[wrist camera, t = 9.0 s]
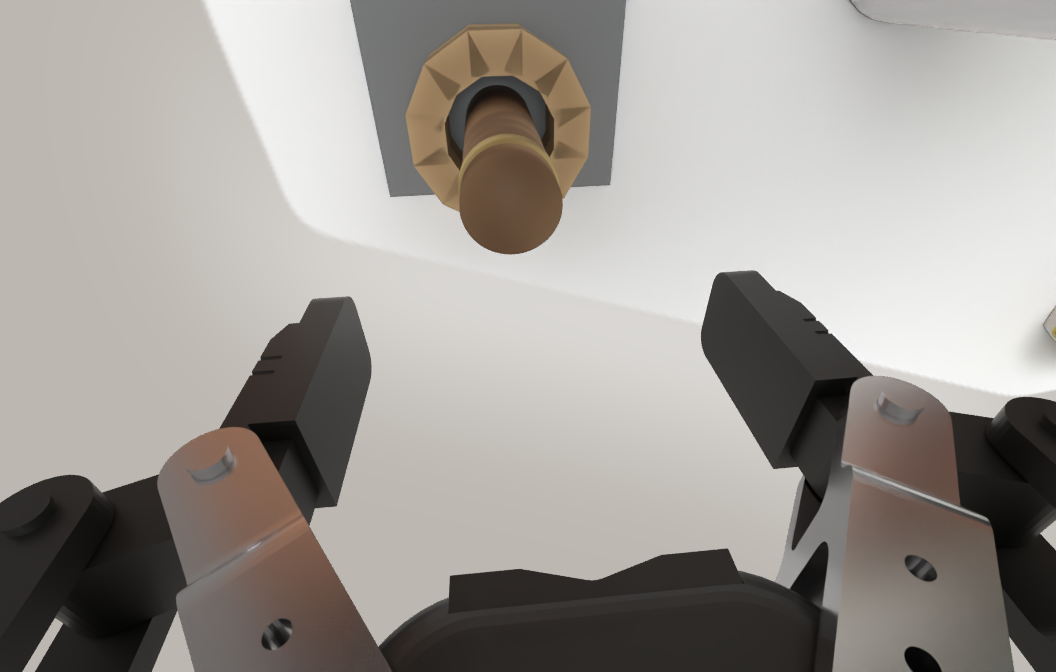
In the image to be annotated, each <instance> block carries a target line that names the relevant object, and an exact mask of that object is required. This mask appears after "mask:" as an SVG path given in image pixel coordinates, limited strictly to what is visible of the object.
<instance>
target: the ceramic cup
mask: <svg viewBox="0 0 1056 672" xmlns="http://www.w3.org/2000/svg"><path fill="white" fill-rule="evenodd" d="M1044 326H1045V328H1046V330H1047V331H1048V333H1049V334H1050V336H1051V337H1052V339H1053V340H1054V341H1055V342H1056V307H1055V308H1054V310H1053V311H1052V313H1051V314H1050V316H1049V317H1048V319H1047V320H1046V321H1045V323H1044Z"/></svg>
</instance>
